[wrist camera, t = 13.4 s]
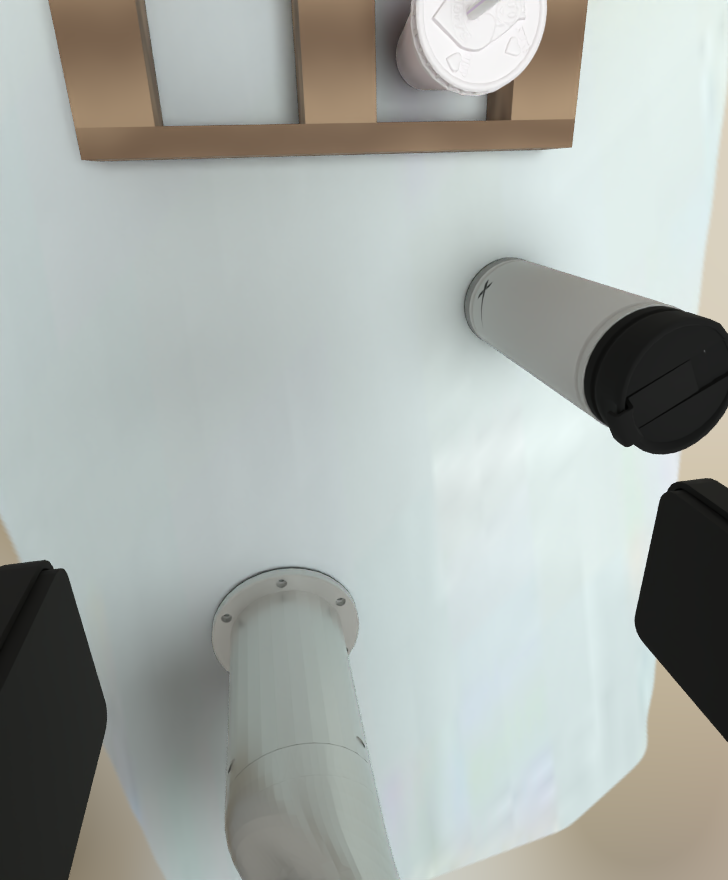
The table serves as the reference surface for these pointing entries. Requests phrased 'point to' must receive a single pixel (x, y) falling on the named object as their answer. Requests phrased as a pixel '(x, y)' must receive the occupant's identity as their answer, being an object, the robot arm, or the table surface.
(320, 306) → the table surface
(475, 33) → the smoothie
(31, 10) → the table surface
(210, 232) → the table surface
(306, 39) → the wooden frame
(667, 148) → the table surface
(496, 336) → the travel mug
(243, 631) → the robot arm
